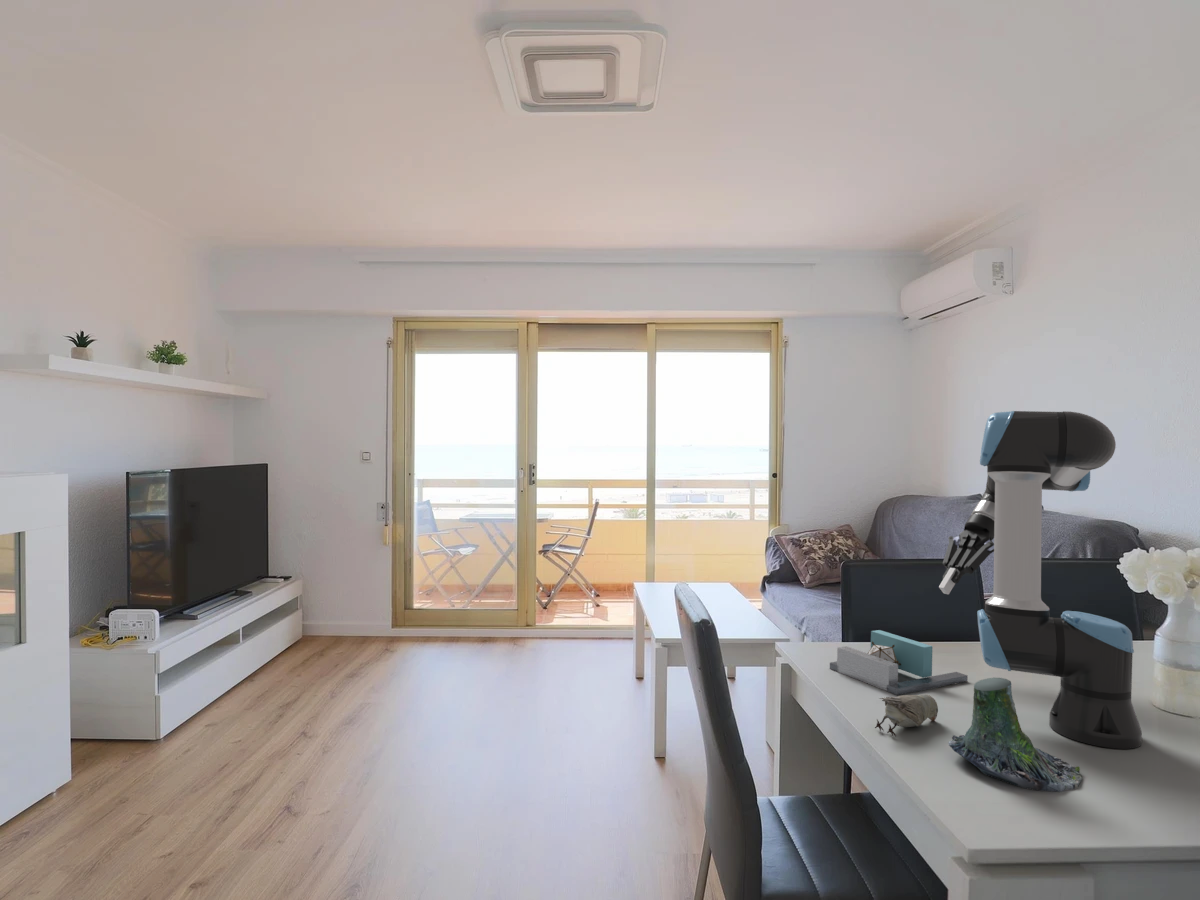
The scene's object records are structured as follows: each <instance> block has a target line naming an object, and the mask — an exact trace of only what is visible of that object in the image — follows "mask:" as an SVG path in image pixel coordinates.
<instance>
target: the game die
mask: <svg viewBox="0 0 1200 900" xmlns="http://www.w3.org/2000/svg"><path fill="white" fill-rule="evenodd" d="M872 644H873V646H872V647H871V646H870V649H869V650H868V652H866V653H867V654H870V655H873V656H876V657H879V658H881V659H884V660H887V661H890V662H893V663H896V664H898V665H901V663H899V662H898V661H897V658H896V655H895V653H894V650H893V647H895V645H893V646H892V647H888V646H882V645H875V644H874V642H872Z"/></svg>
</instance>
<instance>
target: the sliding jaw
mask: <svg viewBox="0 0 1200 900" xmlns="http://www.w3.org/2000/svg"><path fill="white" fill-rule="evenodd" d="M872 642H874V644H875V645H882V646H888V647H892V646H893V645H895V647H893V650H894V653H895V655H896V658H897V661H898V662H899V663H901V665H898V670H900V671H904V672H906V673H910V674H912V675H915V676H917V677H920V678H926V677H931V676H933V645H929V644H927V643H923V642H920V641H917V640H913V639H910V638H908V637H907V638H906V637H903V636H901V635H897V634H894V633H891V632H888V631H884V630H881V629H878V630H877V629H876V630H871V631H870V648H871V647H872V646H873V644H872Z"/></svg>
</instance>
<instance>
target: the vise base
mask: <svg viewBox="0 0 1200 900" xmlns="http://www.w3.org/2000/svg"><path fill="white" fill-rule="evenodd" d="M836 649H837V651H836V653H837V654H836V655H837V656H836V660H837V661H830V662H829V669H830V670H833V671H835V672H838V673H840V674H843V675H845V676H848V677H850V678H852V679H855V680H858V681H861V682H862V683H865V684H867V683H868V685H870V686H873V687H875V688H878V689H881V690H883V691H885V690H886V691H885V692H888V693H890V692H891V693H890V694H892V695H895V694H896V695H895V696H901V695H900V694H902V695H906V694H905V693H907V694H910V693H911V692H912V693H916V691H917V692H921V690H922V691H926V689H927V690H931V688H932V689H937V688H942V687H946V685H948V686H951V685H950V684H953V685H956V684H955V683H958V684H960V683H959V682H963V683H965V682H964V681H967V682H968V675H967V674H965V673H961V672H958V671H954V672H953V671H952V672H949V673H948V672H947V673H942V674H937V675H932V676H929V677H924V678H923V677H920V678H916V679H911V680H905V681H899V669H898V664H896V663H893V662H890V661H887V660H884V659H881V658H879V657H876V656H873V655H870V654H867V653H868V652H863V651H861V650H859V649H855V648H852V647H849V646H837V648H836ZM941 686H942V687H941ZM936 687H937V688H936Z"/></svg>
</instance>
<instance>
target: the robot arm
mask: <svg viewBox="0 0 1200 900" xmlns="http://www.w3.org/2000/svg"><path fill="white" fill-rule="evenodd" d="M983 432H984V433H983V438H982V444H981V450H980V459H979V465H981V466H983V467H987V468H986V469H987V470H986V472H987V480H986V486H985V490H984V492H983V494H982V496H981V497H980V500H979V501H978V502H977V504H976V506H975V507H974V508H973V511H972V512H971V514H970V516H969V517H968V519H967V520H966V522H965V524H964V528H963V531H961V532H960V533H959V535H958V536H955V537H954V535H953V536H952V535H950V536H948V545H947V549H946V551H945V555H944V558H943V561H942V565H943V566H944V567H945V572H944V573H943V575H942V581H941V582H940V584H939V586H938V589H939V590H941V591H940V592H942V593H943V594H944V595H950V593H951V591H952V590H953V588H954V587H955V585H956V584H959V583H960V581H961V578H962V577H963V576H964V575H966V574H969V575H971V574H973V573H974V572H975V571H976V570H977V569H978V568H979V567H980V565H981V564H983V563H984V561H985V560H986V559H987V558H988V557H989V556H990V555H991V554H993V594H992V595H991V596H990V597H989V598H987V600H985V603H984V609H983V608H982V609H979V610H977V612H976V613H977V614H976V615H977V626H978V627H977V628H978V634H979V641H980V647H981V654H982V657H983V661H984V663H985V664H986V665H987V666H989V667H991V668H995V669H1002V670H1007V671H1008V672H1012V671H1014V672H1021V673H1028V674H1035V675H1036V674H1037V675H1043V676H1044V675H1045V676H1050V677H1051V676H1052V677H1060V687H1059V688H1060V689H1059V691H1058V693H1057V695H1056V698H1055V700H1054V703H1053V704H1052V708H1051V710H1050V712H1049V718H1048V719H1049V721H1048V722H1049V724H1048V725H1049V727H1050V729H1052V730H1053V731H1055V732H1056V733H1058V734H1059V735H1061V736H1064V737H1066V738H1069V739H1071V740H1074V741H1076V742H1080V743H1083V744H1088V745H1092V746H1097V747H1101V748H1109V749H1119V750H1120V749H1123V750H1125V749H1127V750H1129V749H1135V748H1139V747H1141V745H1142V743H1143V732H1142V729H1141V725H1140V722H1139V720H1138V717H1137V714H1136V711H1135V708H1134V706H1133V705H1134V704H1133V702H1132V701H1133V700H1132V688H1133V687H1132V684H1133V654H1134V653H1135V651H1134V644H1133V643H1134V641H1133V633H1132V631H1131V629H1129V627H1128V626H1126V625H1125V624H1124V623H1121V622H1119V621H1117V620H1113V619H1111V618H1108V617H1104V616H1101V615H1097V614H1092V613H1088V612H1082V611H1075V610H1074V611H1072V610H1065V611H1062V614H1060V617H1052V616H1051V615H1050V607H1049V606H1048V605H1047V604H1046V603H1045V602H1044V601H1043V600H1042V527H1043V526H1042V520H1043V519H1042V518H1043V517H1042V515H1043V512H1042V511H1043V509H1042V508H1043V507H1042V506H1043V505H1042V504H1043V491H1044V490H1045V491H1066V492H1067V491H1068V492H1085V491H1086V490H1088V489H1089V487H1090V483H1091V471H1092V470H1093V471H1094V470H1096V469H1099V468H1101V467H1103V466H1104V465H1106V464H1107V463H1108V462H1109V461H1110V460H1111V459H1112V458H1113V456H1114V454H1115V451H1116V448H1117V447H1116V439H1115V436H1114V434H1113V432H1112V431H1111V430H1110V429H1109V427H1108V426H1107V425H1105V424H1104V423H1103V422H1102V421H1100V420H1098V419H1097V418H1095V417H1092V416H1091V415H1088V414H1085V413H1081V412H1075V411H1036V410H1035V411H1031V410H1030V411H1029V410H1028V411H1026V410H1022V411H1021V410H1018V411H1017V410H1011V411H999V412H994V413H991V414H990V415H989V416H987V420H986V422H985V428H984V431H983ZM1050 616H1051V617H1050Z"/></svg>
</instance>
